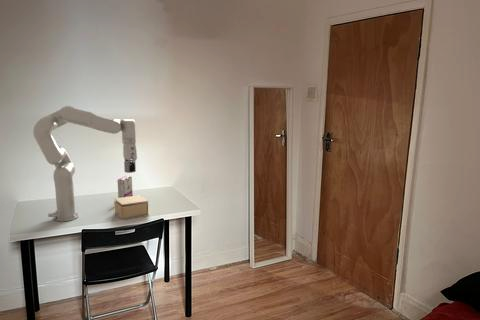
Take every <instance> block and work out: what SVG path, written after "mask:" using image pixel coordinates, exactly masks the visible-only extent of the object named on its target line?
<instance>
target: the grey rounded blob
mask: <svg viewBox="0 0 480 320" xmlns="http://www.w3.org/2000/svg"><path fill="white" fill-rule="evenodd" d="M131 162H132V161H131ZM123 163H124V172H125V173H127V174H128V173H130V174H131V173H135V172H137V171H136V169H137V168H136V164H135V171H133V172H130V170H129V165H130V162H129V161H125V160H124V161H123Z"/></svg>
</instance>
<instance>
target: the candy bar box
mask: <svg viewBox="0 0 480 320" xmlns="http://www.w3.org/2000/svg"><path fill="white" fill-rule="evenodd" d="M116 182H117V198H122V197H130V196H134V195H133V177H132V175H125V176H122V177H120V178H118V179H117V181H116Z"/></svg>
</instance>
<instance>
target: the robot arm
mask: <svg viewBox="0 0 480 320" xmlns="http://www.w3.org/2000/svg"><path fill="white" fill-rule="evenodd" d="M66 124H75V125H78V126H82V127H86V128H90V129H93V130H97V131H100V132H104V133H107V134H108V133H109V134H113V135H115V134H119V132H121V135H122V136H121V140H122V146H123V147H122V149H123V150H122V151H123V152H122V155H123V158H124V162H125V161H129V162H130V165H129V170H130V172H133V171H135V165H136V161H137V160H138V155H137V145H136V142H137V141H136V137H137V135H136V121H135V120H134V119H131V118H130V119H119V118H118V119H117V118H112V119H109V118H104V117H101V116H99V115H96V114H95V113H93V112H90V111H87V110H83V109H78V108H75V107H74V106H71V105H65V106H63V107H61V108H60V109H59V110H56V111H55V112H52V113H51V114H48V115H46V116H43V117H41V118H40V119H39V120H37V122H36V123H35V125H34V127H33V131H32V132H33V136H34V139H35V141H36V143H37V145H38V147H39V149H40V151H41V152H42V154H43V156H44V158H45V160H46V162H47V163H48V164H50V165H52V166H54V167H55V170H54V171H53V175H52V176H53V177H52V178H53V181H54V188H55V201H56V210H55V211H54V212H51V213H48V214H47V217H48V218H54V220H55V221H57V222H69V221H73V220H76V219H77V218H79V214H78V213H77V212H76V206H75V203H76V202H75V191H74V183H73V176H74V174H75V172H76V168H75V165H74V164H73V161H72V159H71V157H70V156H69V154H68V152H67V150H66V149H65V148H64V147H62V146H61V145H58V144H57V142H56V140H55V138H54V137H53V135H52V132H53V131H54V130H57V129H58V128H60V127H62V126H64V125H66ZM131 161H132V162H131ZM133 173H134V172H133Z"/></svg>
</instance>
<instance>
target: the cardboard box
mask: <svg viewBox="0 0 480 320" xmlns="http://www.w3.org/2000/svg"><path fill="white" fill-rule="evenodd" d="M114 214H115V215H116V216H118V217H119V218H120V219H121V220H122V221H123V220H129V219H133V218H139V217H144V216H148V215H149V201H148V202H145V203H138V204H130V205H123V206H122V205H121V204H119V203H118V202H117V201H115V200H114ZM138 216H139V217H138Z"/></svg>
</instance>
